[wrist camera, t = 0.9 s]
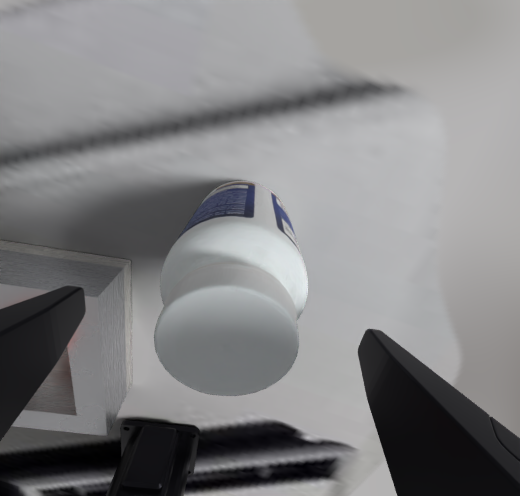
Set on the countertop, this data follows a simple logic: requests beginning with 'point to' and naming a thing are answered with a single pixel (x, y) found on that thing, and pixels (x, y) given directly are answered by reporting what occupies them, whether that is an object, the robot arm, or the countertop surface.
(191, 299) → the pill bottle
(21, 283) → the frame
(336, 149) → the countertop surface
